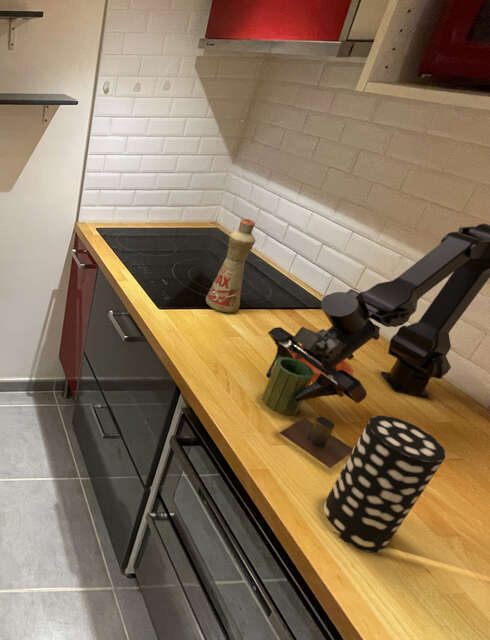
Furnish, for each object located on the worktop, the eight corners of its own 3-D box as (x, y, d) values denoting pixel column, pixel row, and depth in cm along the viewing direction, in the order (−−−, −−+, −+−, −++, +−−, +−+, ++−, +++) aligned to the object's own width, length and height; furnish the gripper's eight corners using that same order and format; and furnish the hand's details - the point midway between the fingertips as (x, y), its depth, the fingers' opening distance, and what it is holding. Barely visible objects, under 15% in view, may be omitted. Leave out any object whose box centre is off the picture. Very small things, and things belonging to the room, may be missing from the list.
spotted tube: (399, 543, 70) (460, 454, 62) (362, 559, 68) (420, 468, 60) (344, 496, 78) (393, 410, 69) (309, 509, 75) (354, 421, 67)
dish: (278, 351, 114) (282, 340, 112) (335, 362, 110) (340, 351, 109) (294, 383, 103) (299, 371, 102) (357, 396, 100) (363, 384, 98)
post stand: (302, 420, 93) (312, 399, 91) (353, 453, 86) (365, 430, 83) (277, 436, 89) (287, 413, 87) (328, 471, 82) (340, 448, 80)
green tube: (261, 392, 100) (276, 353, 96) (295, 404, 97) (312, 364, 93) (259, 409, 96) (275, 369, 91) (296, 423, 92) (314, 382, 88)
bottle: (245, 314, 129) (275, 225, 117) (213, 314, 129) (240, 225, 118) (229, 298, 137) (255, 214, 125) (199, 298, 137) (223, 213, 125)
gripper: (288, 294, 96) (231, 342, 99) (379, 348, 80) (307, 404, 82) (306, 321, 101) (251, 365, 104) (395, 377, 84) (327, 428, 87)
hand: (280, 388), depth 94 cm, fingers closed on green tube, 6 cm apart
